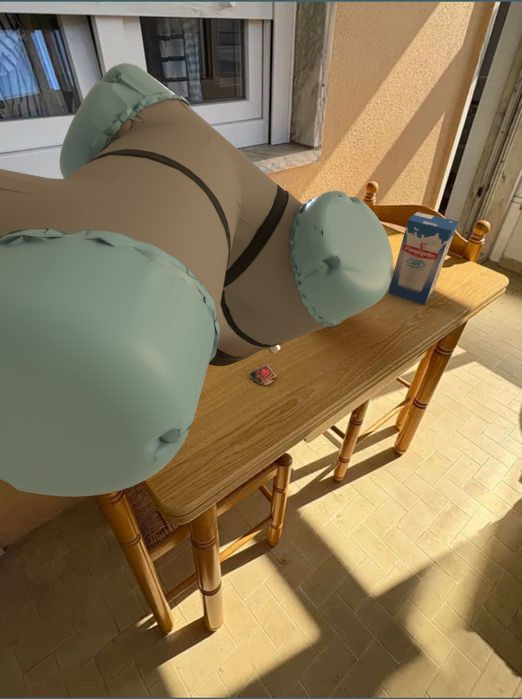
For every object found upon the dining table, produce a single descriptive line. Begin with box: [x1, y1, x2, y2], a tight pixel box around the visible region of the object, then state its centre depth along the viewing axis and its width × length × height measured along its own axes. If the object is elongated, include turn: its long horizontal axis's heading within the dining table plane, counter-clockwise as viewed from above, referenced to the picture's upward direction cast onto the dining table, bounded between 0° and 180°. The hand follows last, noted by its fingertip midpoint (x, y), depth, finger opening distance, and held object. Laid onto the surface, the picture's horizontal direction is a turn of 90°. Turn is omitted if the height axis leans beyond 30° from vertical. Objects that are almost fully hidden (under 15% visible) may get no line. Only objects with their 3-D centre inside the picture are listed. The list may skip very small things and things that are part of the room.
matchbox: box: [249, 364, 277, 386], centre depth 77 cm, size 5×5×1 cm
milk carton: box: [387, 211, 459, 306], centre depth 95 cm, size 10×6×20 cm, turn 54°
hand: (151, 367), depth 53 cm, fingers closed on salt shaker, 3 cm apart
